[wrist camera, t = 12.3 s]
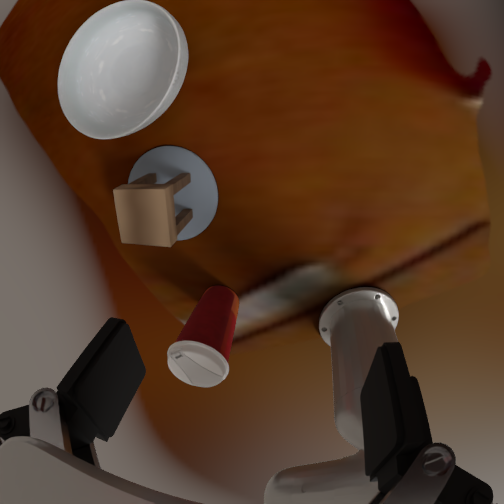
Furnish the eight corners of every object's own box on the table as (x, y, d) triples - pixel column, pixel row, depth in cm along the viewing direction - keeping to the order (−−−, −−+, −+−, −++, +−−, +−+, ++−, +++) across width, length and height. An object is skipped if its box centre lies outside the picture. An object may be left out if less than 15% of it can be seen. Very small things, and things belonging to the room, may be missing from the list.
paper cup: (187, 292, 43) (151, 358, 31) (224, 270, 40) (194, 340, 28) (219, 326, 46) (195, 395, 34) (257, 308, 43) (240, 382, 31)
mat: (239, 196, 35) (238, 197, 35) (176, 255, 41) (175, 257, 40) (166, 125, 32) (165, 125, 32) (114, 194, 37) (112, 194, 37)
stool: (191, 171, 34) (164, 189, 27) (194, 219, 37) (170, 247, 30) (146, 171, 35) (113, 189, 28) (151, 217, 38) (121, 242, 31)
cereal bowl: (152, 156, 34) (123, 168, 28) (74, 98, 31) (40, 102, 25) (230, 46, 26) (213, 31, 20) (134, -2, 23) (105, -16, 17)
